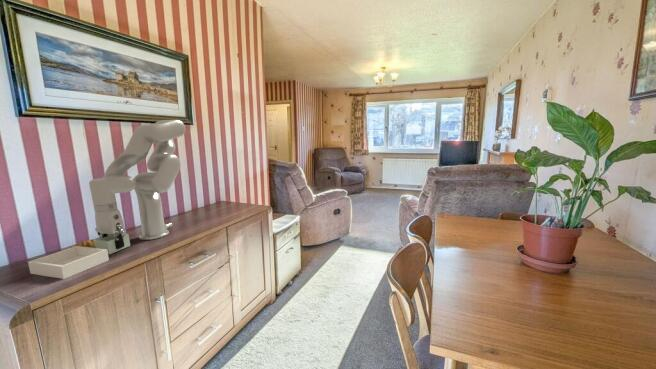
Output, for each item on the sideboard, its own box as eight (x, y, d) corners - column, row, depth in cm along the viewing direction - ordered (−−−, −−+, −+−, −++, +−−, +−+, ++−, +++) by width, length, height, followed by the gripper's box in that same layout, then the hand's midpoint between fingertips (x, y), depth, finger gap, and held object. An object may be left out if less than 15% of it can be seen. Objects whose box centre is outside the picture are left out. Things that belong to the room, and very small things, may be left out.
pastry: (68, 255, 113) (66, 246, 113) (69, 250, 118) (67, 242, 118) (97, 248, 120) (96, 240, 119) (97, 244, 125) (95, 236, 124)
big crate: (78, 256, 111) (76, 245, 111) (109, 260, 107) (107, 249, 106) (30, 273, 97) (27, 261, 96) (63, 278, 93) (61, 266, 92)
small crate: (118, 244, 122) (116, 232, 121) (130, 245, 120) (128, 233, 119) (97, 252, 114) (94, 240, 113) (109, 254, 112) (107, 241, 111)
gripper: (130, 206, 115) (137, 245, 118) (100, 204, 119) (107, 242, 123) (112, 211, 108) (120, 252, 111) (80, 209, 112) (89, 249, 116)
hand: (113, 246), depth 117 cm, fingers closed on small crate, 7 cm apart
